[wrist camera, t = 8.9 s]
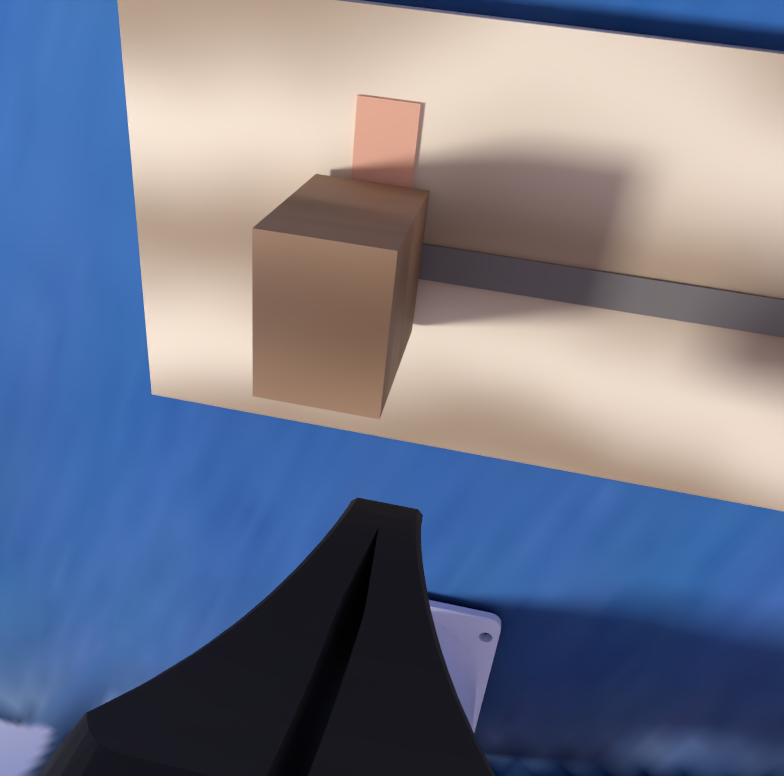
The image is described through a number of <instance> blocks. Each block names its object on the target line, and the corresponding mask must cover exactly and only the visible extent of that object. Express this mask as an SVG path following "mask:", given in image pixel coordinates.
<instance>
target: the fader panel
mask: <svg viewBox="0 0 784 776" xmlns="http://www.w3.org/2000/svg"><path fill="white" fill-rule="evenodd" d="M118 12H119V23H120V34H121V46H122V57H123V69H124V80H125V92H126V103H127V115H128V126H129V138H130V149H131V161H132V172H133V183H134V195H135V206H136V218H137V229H138V241H139V252H140V264H141V275H142V287H143V298H144V310H145V321H146V332H147V344H148V355H149V367H150V378H151V390H152V394H153V395H159V396H164V397H170V398H175V399H180V400H186V401H191V402H197V403H202V404H207V405H213V406H218V407H224V408H229V409H234V410H240V411H245V412H251V413H256V414H261V415H267V416H272V417H278V418H283V419H288V420H294V421H299V422H305V423H310V424H315V425H321V426H326V427H332V428H337V429H342V430H348V431H353V432H359V433H364V434H369V435H375V436H380V437H386V438H391V439H396V440H402V441H407V442H413V443H418V444H423V445H429V446H434V447H440V448H445V449H450V450H456V451H461V452H467V453H472V454H477V455H483V456H488V457H494V458H499V459H504V460H510V461H515V462H521V463H526V464H531V465H537V466H542V467H548V468H553V469H558V470H564V471H569V472H575V473H580V474H585V475H591V476H596V477H602V478H607V479H612V480H618V481H623V482H629V483H634V484H639V485H645V486H650V487H656V488H661V489H666V490H672V491H677V492H683V493H688V494H693V495H699V496H704V497H710V498H715V499H720V500H726V501H731V502H737V503H742V504H747V505H753V506H758V507H764V508H769V509H774V510H780V511H784V51H778V50H770V49H762V48H753V47H745V46H737V45H728V44H720V43H712V42H704V41H695V40H687V39H679V38H670V37H662V36H654V35H645V34H637V33H629V32H620V31H612V30H604V29H595V28H587V27H579V26H571V25H562V24H554V23H546V22H537V21H529V20H521V19H512V18H504V17H496V16H487V15H479V14H471V13H462V12H454V11H446V10H437V9H429V8H421V7H413V6H404V5H396V4H388V3H379V2H371V1H363V0H118ZM315 174H321V175H328V176H334V177H341V178H348V179H355V180H361V181H368V182H375V183H382V184H389V185H395V186H402V187H409V188H416V189H423V190H429V191H430V192H429V200H428V207H427V215H426V223H425V231H424V239H423V247H422V255H421V263H420V271H419V279H418V287H417V295H416V303H415V311H414V319H413V327H412V332H411V335H410V338H409V340H408V343H407V346H406V349H405V351H404V354H403V357H402V360H401V362H400V365H399V368H398V371H397V373H396V376H395V379H394V382H393V384H392V387H391V390H390V392H389V395H388V398H387V401H386V403H385V406H384V409H383V412H382V414H381V417H380V419H374V418H369V417H363V416H358V415H352V414H347V413H341V412H336V411H330V410H325V409H319V408H314V407H308V406H303V405H297V404H292V403H287V402H281V401H276V400H270V399H265V398H259V397H254V396H253V353H252V228H253V227H254V226H255V225H257V224H258V223H259V222H260V221H261V220H262V219H264V218H265V217H266V216H267V215H268V214H269V213H271V212H272V211H273V210H274V209H275V208H276V207H278V206H279V205H280V204H281V203H282V202H284V201H285V200H286V199H287V198H288V197H289V196H291V195H292V194H293V193H294V192H295V191H296V190H298V189H299V188H300V187H301V186H302V185H303V184H305V183H306V182H307V181H308V180H309V179H311V178H312V177H313V176H314V175H315Z"/></svg>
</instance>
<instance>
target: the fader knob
mask: <svg viewBox="0 0 784 776" xmlns="http://www.w3.org/2000/svg"><path fill="white" fill-rule="evenodd" d="M429 192H430V191H429V190H423V189H416V188H409V187H402V186H395V185H389V184H382V183H375V182H368V181H361V180H355V179H348V178H341V177H334V176H328V175H321V174H315V175H314V176H313V177H312V178H311V179H309V180H308V181H307V182H306V183H305V184H303V185H302V186H301V187H300V188H299V189H298V190H296V191H295V192H294V193H293V194H292V195H291V196H289V197H288V198H287V199H286V200H285V201H284V202H282V203H281V204H280V205H279V206H278V207H276V208H275V209H274V210H273V211H272V212H271V213H269V214H268V215H267V216H266V217H265V218H264V219H262V220H261V221H260V222H259V223H258V224H257V225H255V226H254V227H253V228H252V353H253V396H254V397H259V398H265V399H270V400H276V401H281V402H287V403H292V404H297V405H303V406H308V407H314V408H319V409H325V410H330V411H336V412H341V413H347V414H352V415H358V416H363V417H369V418H374V419H380V417H381V414H382V412H383V409H384V406H385V403H386V401H387V398H388V395H389V392H390V390H391V387H392V384H393V382H394V379H395V376H396V373H397V371H398V368H399V365H400V362H401V360H402V357H403V354H404V351H405V349H406V346H407V343H408V340H409V338H410V335H411V332H412V327H413V319H414V311H415V303H416V295H417V287H418V279H419V271H420V263H421V255H422V247H423V239H424V231H425V223H426V215H427V207H428V200H429Z"/></svg>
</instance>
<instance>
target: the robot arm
mask: <svg viewBox="0 0 784 776" xmlns="http://www.w3.org/2000/svg"><path fill="white" fill-rule="evenodd" d="M422 517H423V515H422V514H421V513H420V511H419V510H418V509H413V508H408V507H403V506H398V505H393V504H387V503H382V502H377V501H372V500H367V499H362V498H356V499H354V500H353V501H351V503H350V504H349V506H348V507H347V509H346V510H345V512H344V513H343V514H342V516H341V517H340V518H339V520H338V521H337V522H336V524H335V525H334V526H333V528H332V529H331V530H330V531H329V532H328V534H327V535H326V536H325V537H324V538H323V540H322V541H321V542H320V543H319V544H318V545H317V546H316V547H315V549H314V550H313V551H312V552H311V553H310V554H309V555H308V556H307V557H306V559H305V560H304V561H303V562H302V563H301V564H300V565H299V566H298V567H297V568H296V569H295V570H294V571H293V572H292V573H291V574H290V575H289V576H288V577H287V578H286V579H285V580H284V581H283V582H282V583H281V584H280V585H279V586H278V587H277V588H276V589H275V590H274V591H273V592H271V593H270V594H269V595H268V596H267V597H266V598H265V599H264V600H263V601H261V602H260V603H259V604H258V605H257V606H256V607H254V608H253V609H252V610H251V611H250V612H248V613H247V614H246V615H245V616H244V617H242V618H241V619H240V620H239V621H237V622H236V623H235V624H234V625H232V626H231V627H230V628H228V629H227V630H225V631H224V632H223V633H221V634H220V635H219V636H217V637H216V638H215V639H213V640H212V641H211V642H209V643H208V644H206V645H205V646H203V647H202V648H201V649H199V650H198V651H196V652H195V653H193V654H192V655H190V656H188V657H187V658H185V659H184V660H182V661H180V662H179V663H177V664H175V665H174V666H172V667H170V668H169V669H167V670H166V671H164V672H162V673H161V674H159V675H157V676H156V677H154V678H152V679H151V680H149V681H147V682H145V683H144V684H142V685H140V686H138V687H136V688H134V689H132V690H131V691H129V692H127V693H125V694H123V695H121V696H119V697H117V698H115V699H113V700H111V701H109V702H107V703H105V704H103V705H101V706H99V707H97V708H95V709H93V710H91V711H89V712H87V713H85V715H84V716H83V717H82V718H81V719H80V720H79V722H78V723H77V724H76V725H75V727H74V728H73V729H72V730H71V731H70V733H69V734H68V735H67V737H66V738H65V739H64V740H63V742H62V743H61V744H60V745H59V747H58V748H57V749H56V751H55V752H54V753H53V755H52V757H51V758H50V760H49V761H48V763H47V764H46V766H45V767H44V769H43V771H42V772H41V774H40V775H39V776H495V774H494V772H493V771H492V769H491V767H490V765H489V763H488V761H487V759H486V757H485V755H484V753H483V751H482V749H481V747H480V745H479V743H478V741H477V739H476V737H475V734H474V732H475V729H476V725H477V721H478V717H479V713H480V709H481V705H482V702H483V698H484V694H485V690H486V686H487V682H488V678H489V674H490V671H491V667H492V663H493V659H494V655H495V651H496V647H497V644H498V640H499V636H500V632H501V620H500V618H499V617H498V616H497V615H495V614H493V613H490V612H485V611H480V610H475V609H470V608H466V607H461V606H456V605H451V604H446V603H442V602H437V601H432V600H429V599H428V594H427V588H426V582H425V576H424V570H423V562H422V551H421V523H422ZM483 633H488V634H483Z"/></svg>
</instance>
